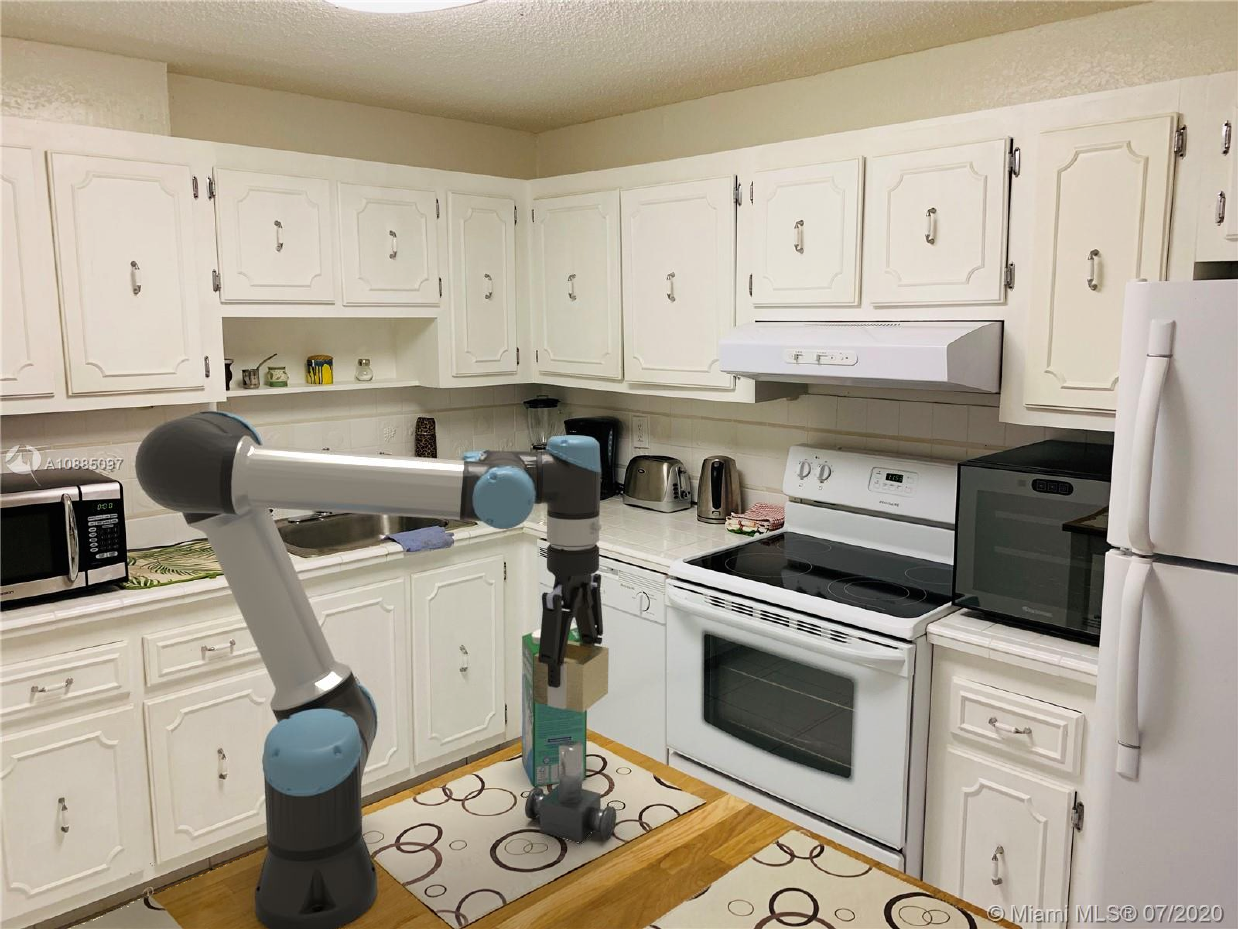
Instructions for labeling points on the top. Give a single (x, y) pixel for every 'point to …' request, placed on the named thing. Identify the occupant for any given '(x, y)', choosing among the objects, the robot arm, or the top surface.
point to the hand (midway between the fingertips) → (571, 696)
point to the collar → (577, 676)
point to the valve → (570, 802)
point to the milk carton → (546, 721)
